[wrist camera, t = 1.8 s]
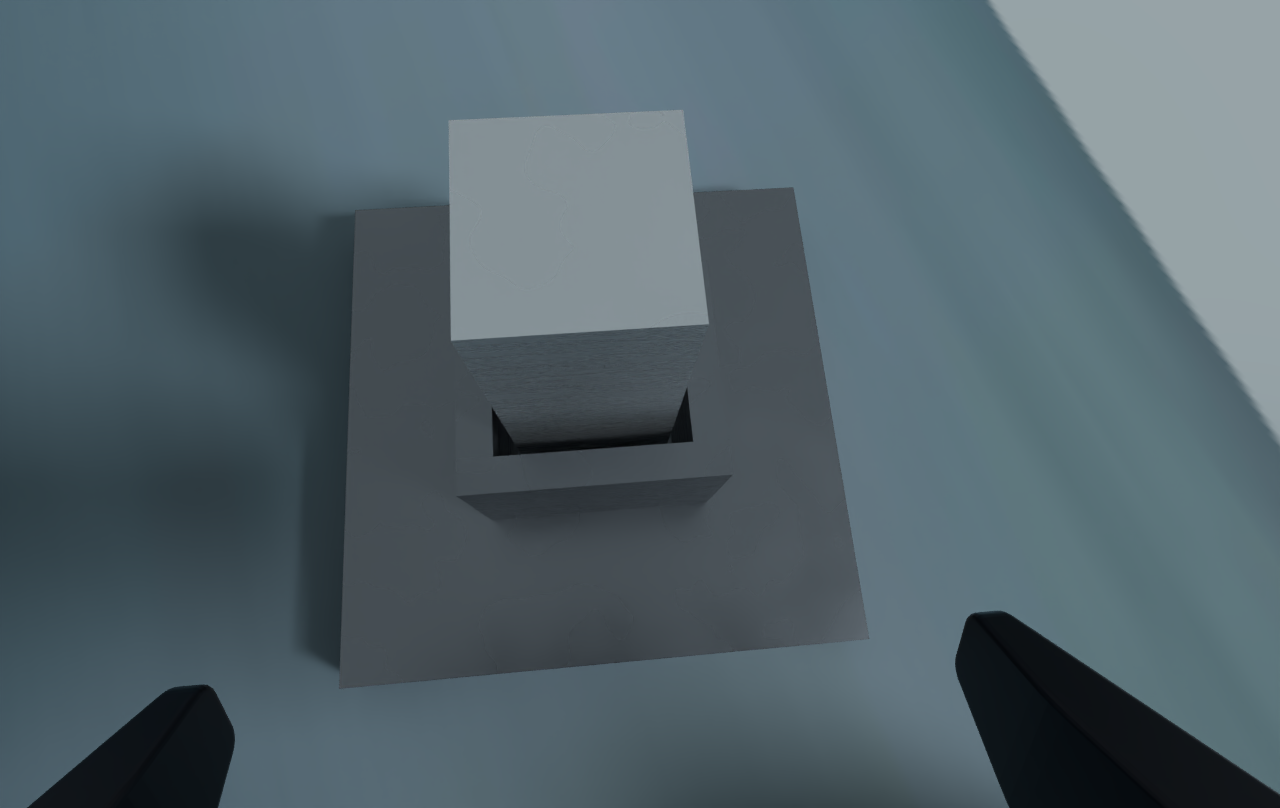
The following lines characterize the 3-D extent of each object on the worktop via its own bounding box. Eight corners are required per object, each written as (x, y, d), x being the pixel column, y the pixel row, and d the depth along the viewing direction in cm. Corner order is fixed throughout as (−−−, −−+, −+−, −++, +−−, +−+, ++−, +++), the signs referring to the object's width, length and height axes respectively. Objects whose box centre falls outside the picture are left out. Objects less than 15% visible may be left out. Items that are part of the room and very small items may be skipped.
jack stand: (850, 636, 20) (947, 650, 14) (359, 682, 19) (249, 717, 13) (782, 212, 24) (836, 87, 18) (371, 235, 23) (290, 111, 17)
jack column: (660, 462, 19) (709, 324, 10) (532, 472, 19) (450, 340, 9) (648, 341, 20) (682, 104, 11) (527, 349, 20) (448, 114, 10)
